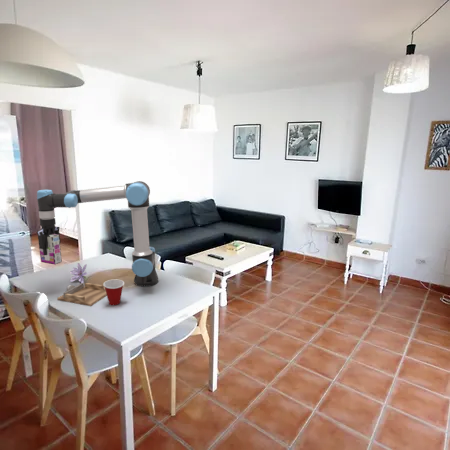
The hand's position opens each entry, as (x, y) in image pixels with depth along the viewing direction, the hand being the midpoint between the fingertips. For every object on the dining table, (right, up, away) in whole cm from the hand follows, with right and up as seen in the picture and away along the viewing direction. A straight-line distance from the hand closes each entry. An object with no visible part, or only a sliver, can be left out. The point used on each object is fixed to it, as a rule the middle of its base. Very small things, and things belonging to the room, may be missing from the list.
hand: (51, 258), depth 179 cm
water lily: (+4, -17, +24) cm, 30 cm away
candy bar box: (0, -2, +1) cm, 3 cm away
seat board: (+18, -22, +2) cm, 28 cm away
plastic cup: (+37, -24, -5) cm, 45 cm away
